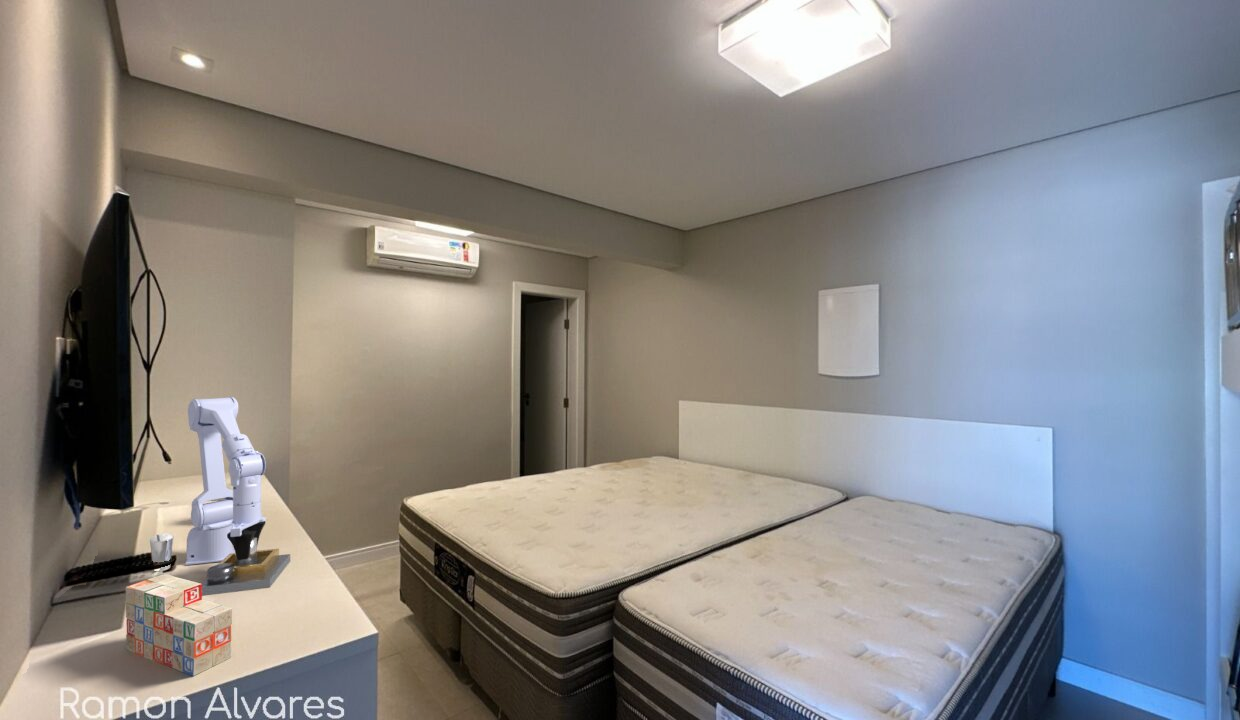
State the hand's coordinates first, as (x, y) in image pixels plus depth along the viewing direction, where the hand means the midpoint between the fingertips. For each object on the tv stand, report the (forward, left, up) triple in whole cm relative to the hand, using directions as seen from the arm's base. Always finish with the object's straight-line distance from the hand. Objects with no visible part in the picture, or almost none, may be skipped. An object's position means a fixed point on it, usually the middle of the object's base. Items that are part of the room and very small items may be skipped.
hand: (246, 555), depth 127 cm
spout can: (0, 0, -2) cm, 2 cm away
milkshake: (-22, +10, -5) cm, 25 cm away
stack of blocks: (+1, -36, -5) cm, 36 cm away
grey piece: (+1, -2, -5) cm, 5 cm away
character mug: (-20, +48, -5) cm, 52 cm away
